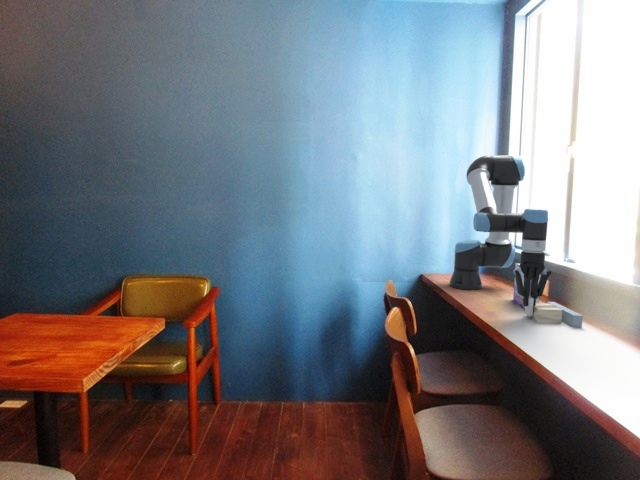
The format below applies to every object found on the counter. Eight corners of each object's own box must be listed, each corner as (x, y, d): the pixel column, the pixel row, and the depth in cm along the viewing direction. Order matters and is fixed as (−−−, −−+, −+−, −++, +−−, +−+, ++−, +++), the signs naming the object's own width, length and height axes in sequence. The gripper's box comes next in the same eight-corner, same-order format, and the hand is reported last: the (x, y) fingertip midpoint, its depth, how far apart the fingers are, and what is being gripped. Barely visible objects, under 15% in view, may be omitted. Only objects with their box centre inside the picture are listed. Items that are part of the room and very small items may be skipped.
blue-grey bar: (545, 311, 141) (546, 301, 140) (553, 311, 141) (554, 301, 140) (572, 326, 124) (573, 315, 123) (581, 326, 124) (582, 315, 123)
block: (526, 315, 136) (527, 303, 136) (548, 316, 136) (549, 303, 135) (537, 322, 128) (538, 309, 128) (561, 323, 128) (562, 309, 127)
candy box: (539, 309, 144) (542, 269, 142) (523, 308, 145) (526, 268, 143) (527, 300, 157) (529, 263, 155) (512, 299, 158) (514, 262, 156)
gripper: (519, 252, 127) (515, 317, 129) (557, 253, 126) (552, 318, 128) (509, 249, 134) (505, 310, 137) (545, 250, 133) (541, 311, 136)
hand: (528, 314), depth 133 cm, fingers closed
